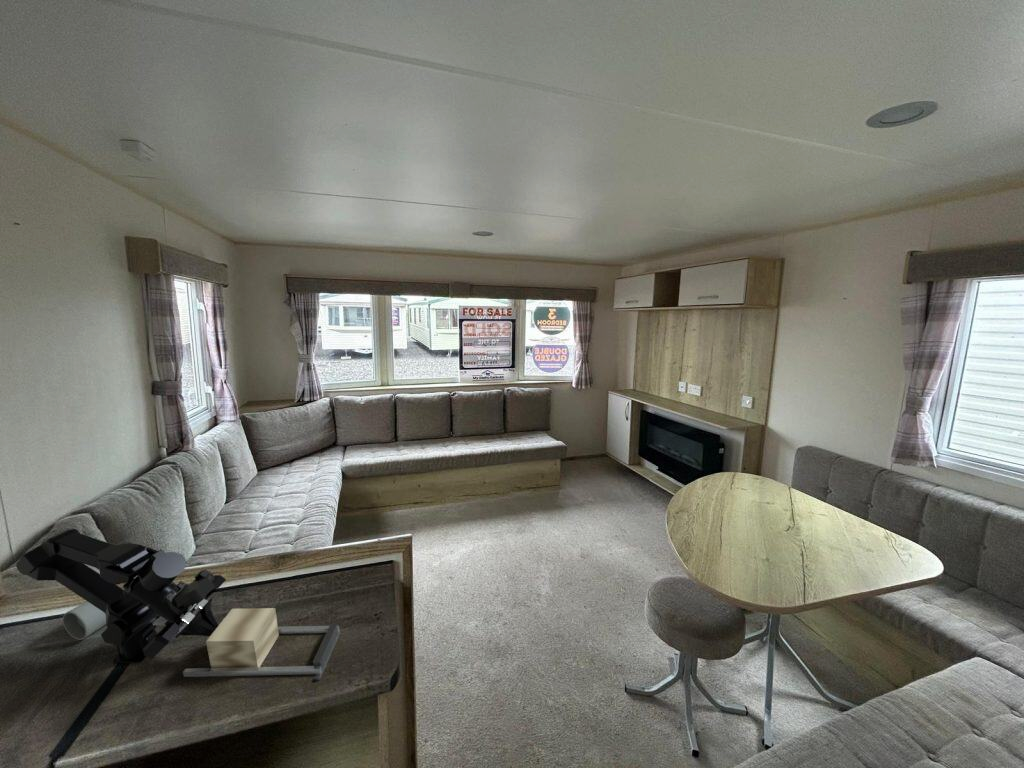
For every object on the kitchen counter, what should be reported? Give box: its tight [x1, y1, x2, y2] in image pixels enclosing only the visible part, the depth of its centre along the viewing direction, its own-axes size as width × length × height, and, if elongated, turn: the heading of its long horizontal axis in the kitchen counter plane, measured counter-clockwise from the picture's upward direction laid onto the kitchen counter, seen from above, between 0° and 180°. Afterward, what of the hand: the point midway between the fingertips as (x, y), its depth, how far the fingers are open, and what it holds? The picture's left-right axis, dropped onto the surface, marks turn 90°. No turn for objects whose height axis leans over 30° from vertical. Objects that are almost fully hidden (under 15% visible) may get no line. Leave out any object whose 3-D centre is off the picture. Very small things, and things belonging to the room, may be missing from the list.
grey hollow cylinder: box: [62, 601, 106, 641], centre depth 100 cm, size 11×8×8 cm
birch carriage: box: [205, 607, 280, 668], centre depth 92 cm, size 10×9×8 cm
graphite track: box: [182, 623, 341, 681], centre depth 93 cm, size 29×12×4 cm, turn 93°
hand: (219, 634), depth 92 cm, fingers closed, pressing on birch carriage
